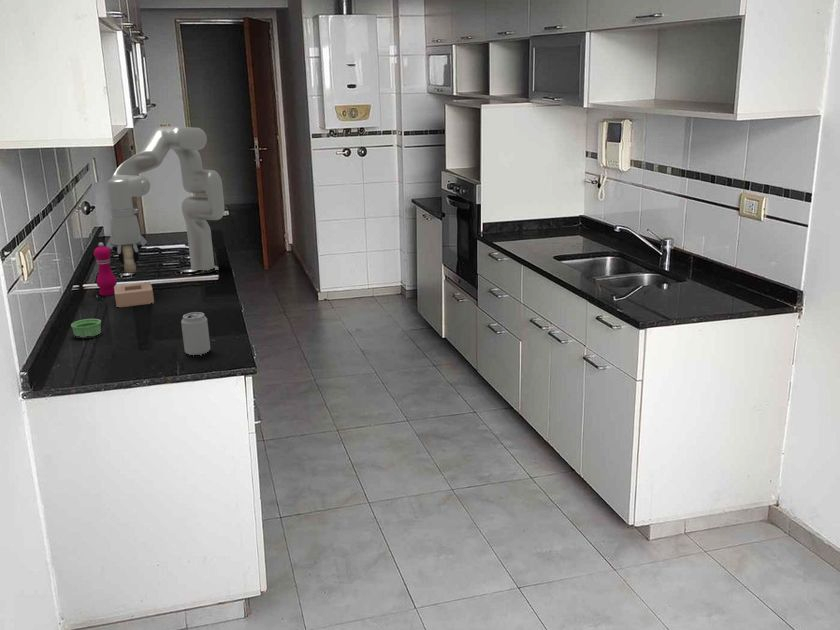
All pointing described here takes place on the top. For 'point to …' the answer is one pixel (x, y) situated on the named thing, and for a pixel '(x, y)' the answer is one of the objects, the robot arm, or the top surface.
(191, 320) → the can
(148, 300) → the socket
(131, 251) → the peg
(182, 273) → the top surface
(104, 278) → the pepper mill
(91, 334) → the ramekin
